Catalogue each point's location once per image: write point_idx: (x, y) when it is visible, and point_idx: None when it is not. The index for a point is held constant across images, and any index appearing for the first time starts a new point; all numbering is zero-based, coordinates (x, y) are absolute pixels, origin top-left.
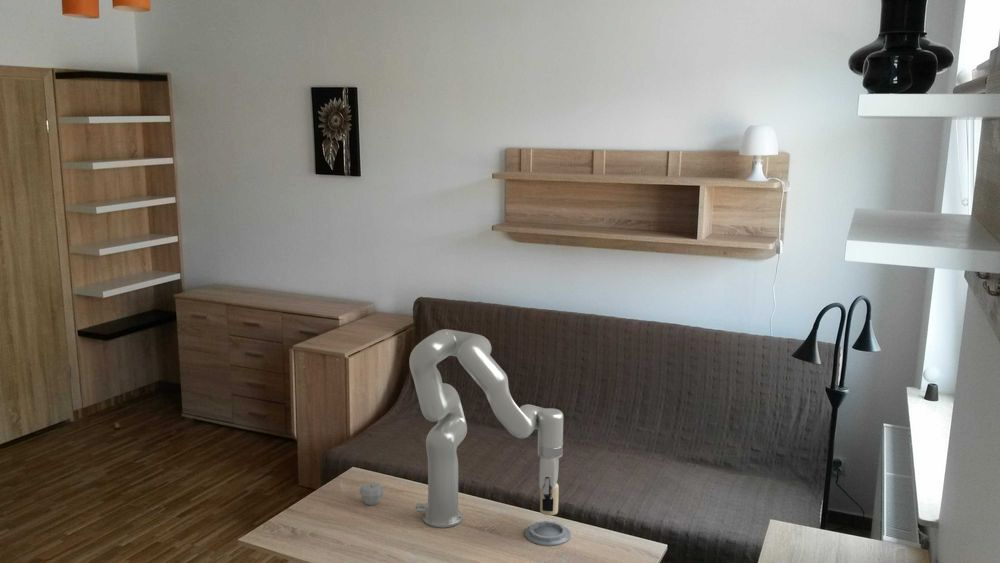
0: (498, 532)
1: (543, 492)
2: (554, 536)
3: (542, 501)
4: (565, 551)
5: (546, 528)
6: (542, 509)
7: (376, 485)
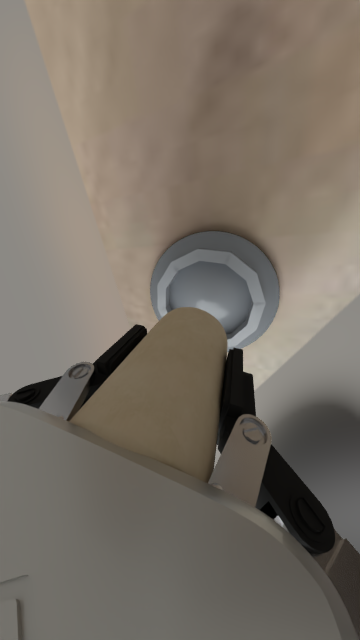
0: (214, 103)
1: (47, 397)
2: None
3: (138, 344)
4: None
5: (234, 300)
6: (136, 325)
7: None
